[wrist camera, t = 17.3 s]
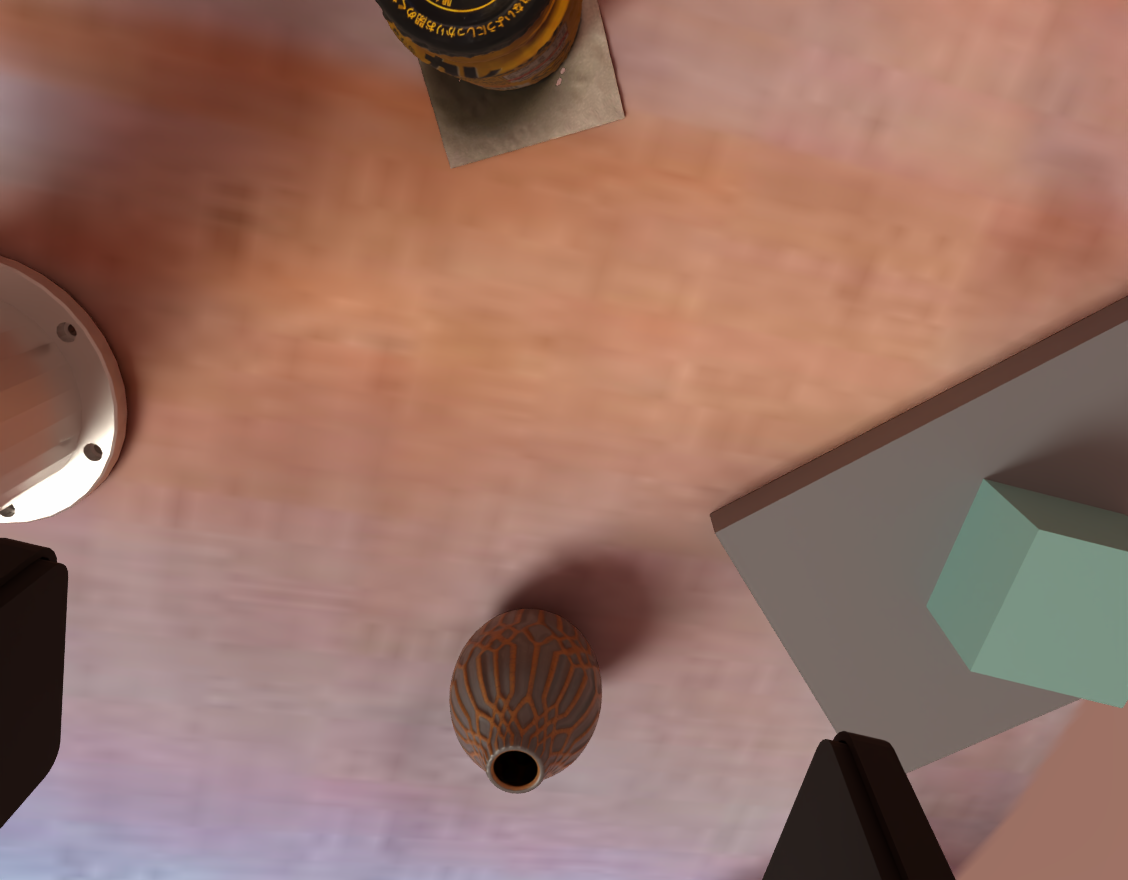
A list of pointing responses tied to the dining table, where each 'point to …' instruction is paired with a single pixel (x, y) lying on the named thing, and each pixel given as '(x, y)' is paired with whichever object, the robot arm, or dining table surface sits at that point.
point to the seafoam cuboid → (1039, 593)
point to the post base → (928, 536)
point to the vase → (525, 697)
